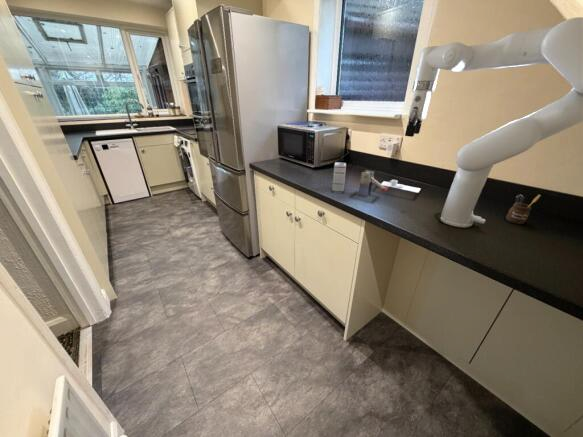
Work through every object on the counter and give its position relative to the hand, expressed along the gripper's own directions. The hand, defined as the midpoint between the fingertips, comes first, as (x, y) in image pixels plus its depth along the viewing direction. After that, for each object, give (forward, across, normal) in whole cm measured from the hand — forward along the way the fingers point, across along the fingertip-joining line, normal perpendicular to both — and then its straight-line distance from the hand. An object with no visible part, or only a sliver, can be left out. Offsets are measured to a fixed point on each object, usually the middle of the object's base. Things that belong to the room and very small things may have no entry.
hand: (412, 134), depth 96 cm
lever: (+22, -4, +10) cm, 25 cm away
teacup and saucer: (+31, +17, +4) cm, 35 cm away
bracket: (+30, -4, +14) cm, 34 cm away
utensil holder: (+31, +11, -44) cm, 55 cm away
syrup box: (+31, -5, +28) cm, 42 cm away
